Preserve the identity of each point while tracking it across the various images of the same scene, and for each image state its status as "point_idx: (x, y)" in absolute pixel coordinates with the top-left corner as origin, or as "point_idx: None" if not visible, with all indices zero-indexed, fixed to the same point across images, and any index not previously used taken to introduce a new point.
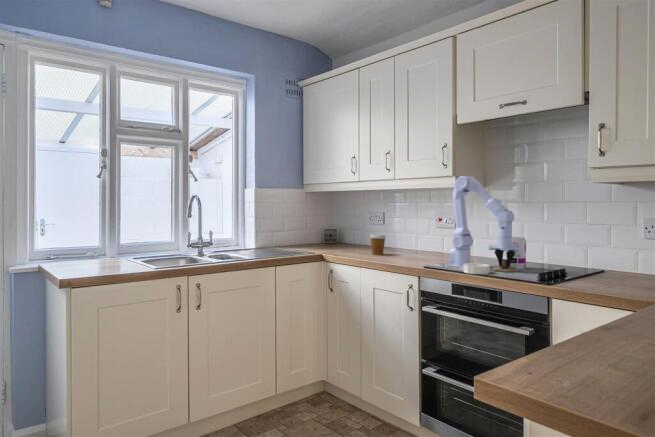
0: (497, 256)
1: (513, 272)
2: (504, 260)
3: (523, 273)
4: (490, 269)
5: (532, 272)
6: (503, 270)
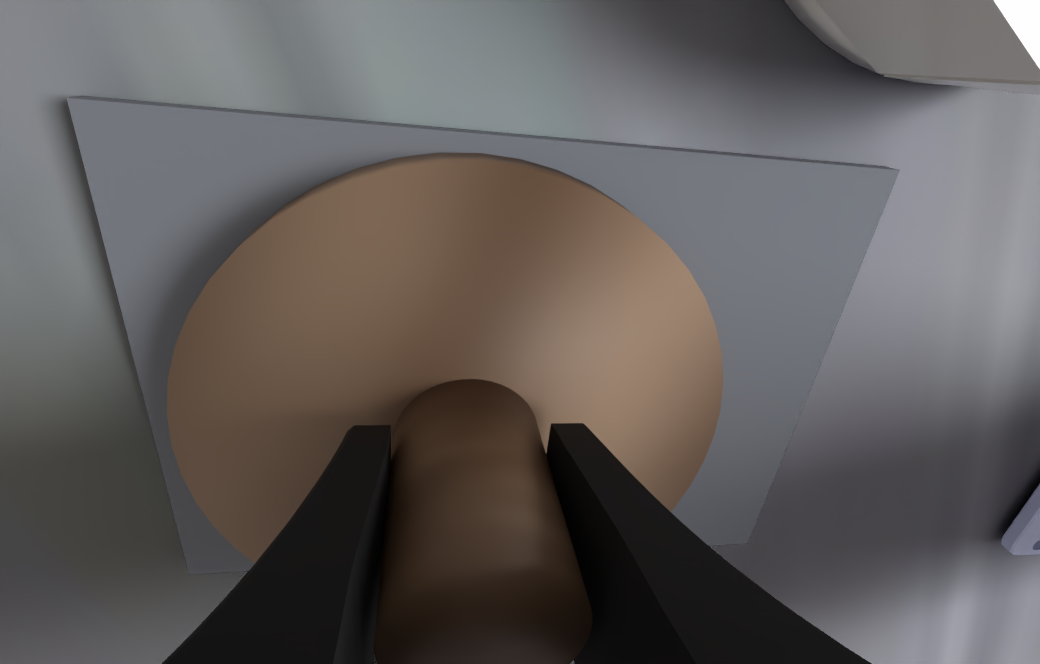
0: (785, 633)
1: (184, 284)
2: (462, 557)
3: (31, 413)
4: (743, 383)
5: (5, 616)
6: (394, 164)
